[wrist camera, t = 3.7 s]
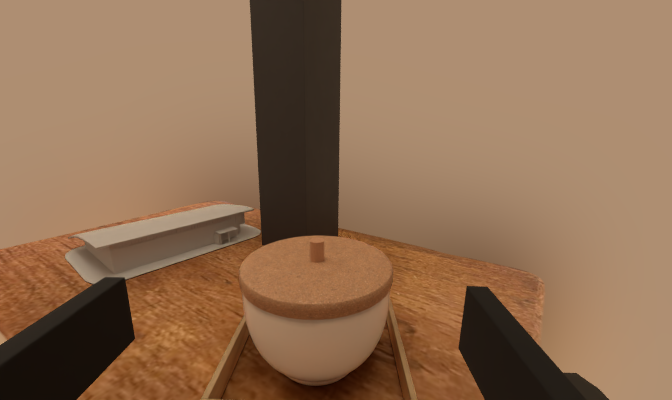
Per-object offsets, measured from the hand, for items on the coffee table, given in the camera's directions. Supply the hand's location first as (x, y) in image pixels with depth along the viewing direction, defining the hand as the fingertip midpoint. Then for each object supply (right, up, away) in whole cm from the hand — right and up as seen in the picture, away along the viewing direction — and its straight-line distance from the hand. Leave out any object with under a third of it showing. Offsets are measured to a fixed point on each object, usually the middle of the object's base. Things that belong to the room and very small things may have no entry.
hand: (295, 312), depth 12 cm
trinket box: (0, -8, +12) cm, 14 cm away
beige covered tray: (-22, -2, +34) cm, 41 cm away
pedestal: (-4, -2, +34) cm, 34 cm away
